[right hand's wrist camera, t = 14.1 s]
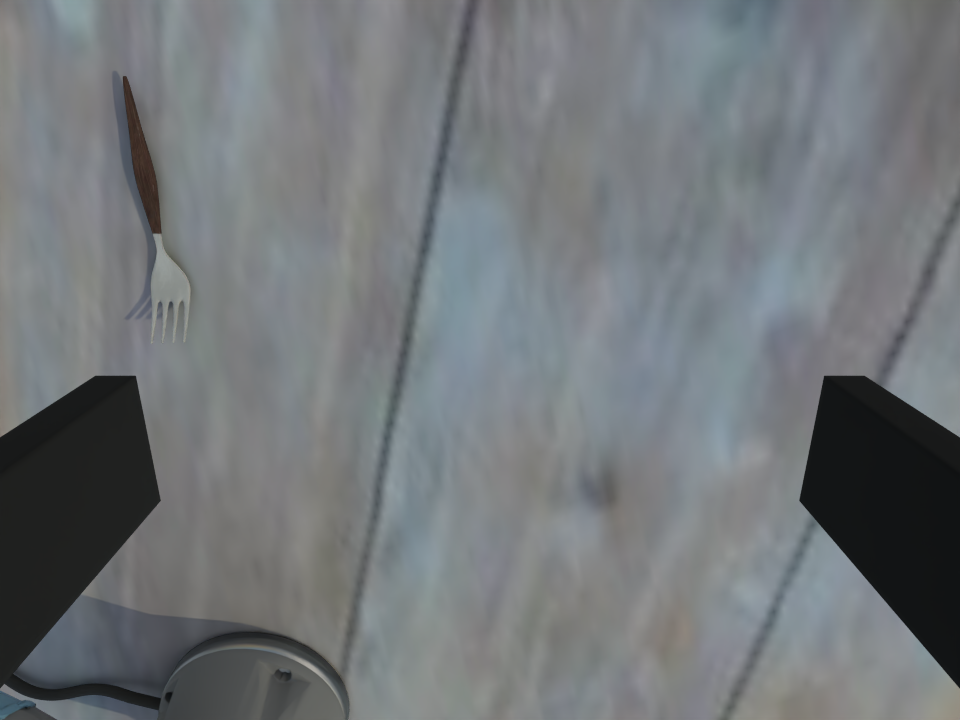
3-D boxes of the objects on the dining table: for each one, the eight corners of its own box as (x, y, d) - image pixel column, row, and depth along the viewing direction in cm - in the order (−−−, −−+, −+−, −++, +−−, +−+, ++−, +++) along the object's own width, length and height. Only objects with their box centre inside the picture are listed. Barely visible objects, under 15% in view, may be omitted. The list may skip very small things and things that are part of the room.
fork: (151, 76, 38) (134, 73, 36) (200, 333, 43) (187, 343, 41) (107, 77, 38) (87, 75, 36) (161, 334, 43) (147, 344, 41)
